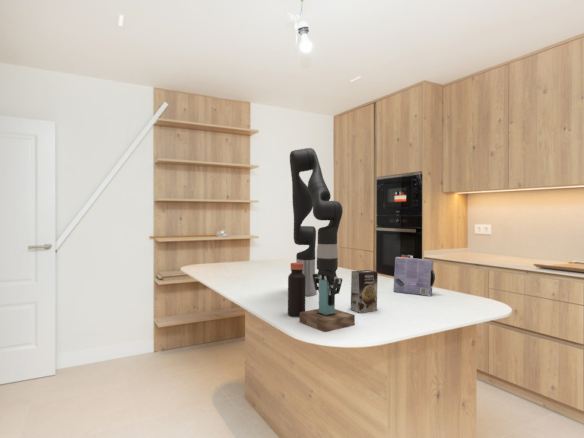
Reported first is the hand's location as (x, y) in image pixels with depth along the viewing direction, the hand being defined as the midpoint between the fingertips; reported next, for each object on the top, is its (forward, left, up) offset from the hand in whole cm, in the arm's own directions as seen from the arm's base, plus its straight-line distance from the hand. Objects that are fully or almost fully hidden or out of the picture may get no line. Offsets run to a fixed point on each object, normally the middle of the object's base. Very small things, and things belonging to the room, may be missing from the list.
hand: (326, 303), depth 134 cm
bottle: (+2, -15, -7) cm, 17 cm away
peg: (0, 0, -3) cm, 3 cm away
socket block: (0, 0, -7) cm, 7 cm away
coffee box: (-25, -5, -7) cm, 27 cm away
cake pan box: (-70, -13, -7) cm, 72 cm away
